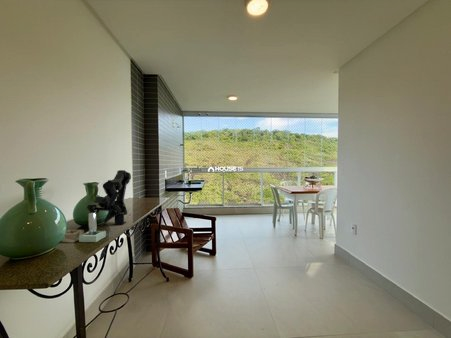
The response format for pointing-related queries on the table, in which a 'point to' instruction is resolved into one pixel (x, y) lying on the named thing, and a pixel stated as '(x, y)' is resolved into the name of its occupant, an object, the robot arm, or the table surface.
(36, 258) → the table surface
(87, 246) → the table surface
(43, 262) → the table surface
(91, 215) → the axle
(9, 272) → the table surface
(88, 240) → the socket block
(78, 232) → the brown square frame
